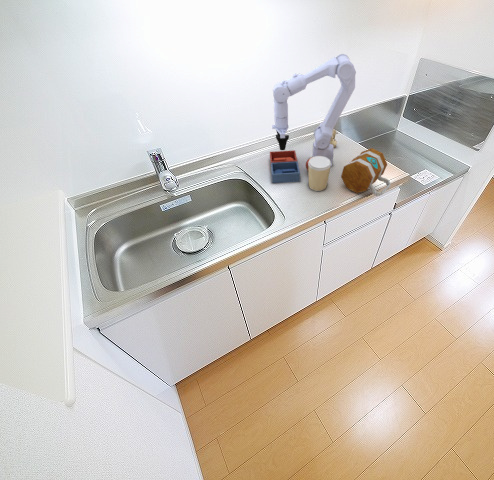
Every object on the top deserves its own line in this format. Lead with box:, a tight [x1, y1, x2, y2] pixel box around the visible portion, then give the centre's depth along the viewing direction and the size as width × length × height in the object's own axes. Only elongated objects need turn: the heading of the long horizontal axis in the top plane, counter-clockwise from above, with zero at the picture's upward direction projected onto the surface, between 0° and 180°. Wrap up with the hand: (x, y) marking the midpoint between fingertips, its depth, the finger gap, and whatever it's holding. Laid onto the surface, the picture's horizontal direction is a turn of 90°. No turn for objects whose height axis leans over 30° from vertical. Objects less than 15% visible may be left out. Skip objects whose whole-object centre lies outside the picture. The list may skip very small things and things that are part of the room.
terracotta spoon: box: [274, 157, 293, 162], centre depth 130 cm, size 9×4×3 cm, turn 95°
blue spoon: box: [274, 169, 295, 174], centre depth 124 cm, size 9×4×3 cm, turn 95°
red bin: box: [269, 149, 298, 164], centre depth 130 cm, size 9×12×4 cm
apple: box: [305, 156, 312, 173], centre depth 124 cm, size 8×8×8 cm
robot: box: [330, 129, 339, 149], centre depth 138 cm, size 10×8×15 cm
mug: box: [340, 147, 392, 197], centre depth 116 cm, size 20×14×15 cm
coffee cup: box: [308, 156, 332, 192], centre depth 116 cm, size 9×9×12 cm
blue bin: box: [270, 160, 301, 184], centre depth 123 cm, size 9×12×4 cm
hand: (281, 145), depth 125 cm, fingers open, 7 cm apart
